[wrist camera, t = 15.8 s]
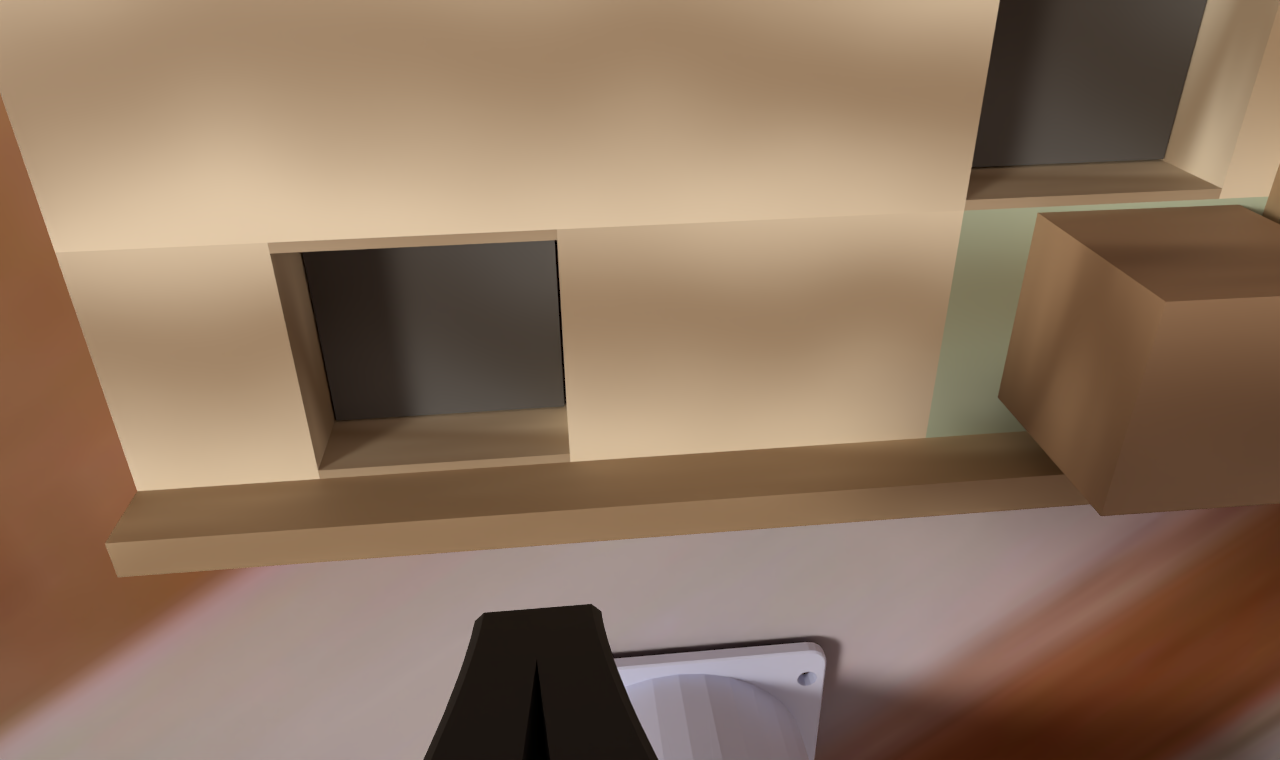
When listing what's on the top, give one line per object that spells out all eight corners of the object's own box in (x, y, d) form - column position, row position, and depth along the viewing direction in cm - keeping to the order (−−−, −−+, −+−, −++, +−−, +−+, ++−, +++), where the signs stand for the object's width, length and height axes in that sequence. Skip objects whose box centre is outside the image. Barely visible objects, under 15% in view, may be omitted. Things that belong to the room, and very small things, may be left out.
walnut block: (1178, 386, 20) (1319, 500, 16) (997, 397, 19) (1100, 516, 16) (1238, 204, 18) (1413, 289, 14) (1037, 212, 17) (1165, 302, 14)
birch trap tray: (1163, 402, 22) (1266, 491, 19) (181, 466, 20) (117, 576, 17) (1322, -105, 17) (1502, -97, 14) (10, -83, 15) (-127, -68, 12)
